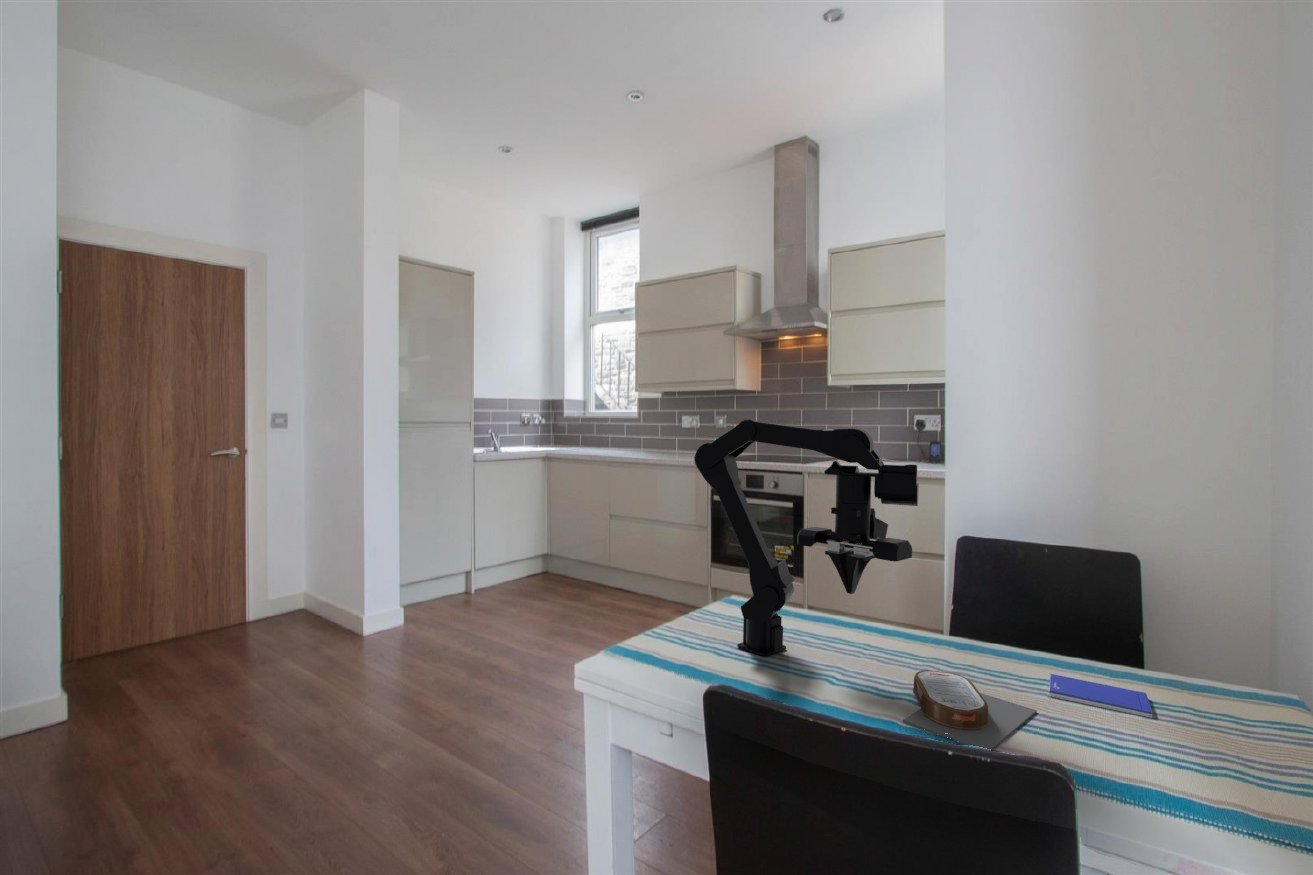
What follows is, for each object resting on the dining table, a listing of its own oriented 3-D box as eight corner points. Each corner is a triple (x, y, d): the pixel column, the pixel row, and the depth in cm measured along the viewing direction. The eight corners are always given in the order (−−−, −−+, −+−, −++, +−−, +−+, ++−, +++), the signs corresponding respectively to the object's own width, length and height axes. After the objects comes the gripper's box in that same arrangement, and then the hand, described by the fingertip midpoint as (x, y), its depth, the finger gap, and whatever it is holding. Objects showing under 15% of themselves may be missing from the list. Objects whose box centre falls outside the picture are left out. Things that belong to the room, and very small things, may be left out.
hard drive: (1049, 689, 96) (1152, 710, 89) (1050, 672, 103) (1145, 691, 96) (1048, 699, 96) (1152, 721, 89) (1049, 681, 103) (1145, 701, 96)
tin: (929, 726, 84) (997, 737, 82) (931, 702, 84) (1000, 714, 82) (907, 682, 99) (964, 691, 97) (909, 662, 99) (966, 671, 97)
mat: (902, 721, 86) (902, 719, 86) (957, 687, 98) (957, 685, 98) (988, 753, 78) (988, 751, 78) (1036, 712, 90) (1036, 710, 90)
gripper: (928, 504, 106) (926, 597, 106) (831, 494, 120) (829, 576, 120) (896, 509, 98) (893, 608, 98) (796, 498, 112) (794, 585, 112)
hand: (850, 593), depth 107 cm, fingers closed
